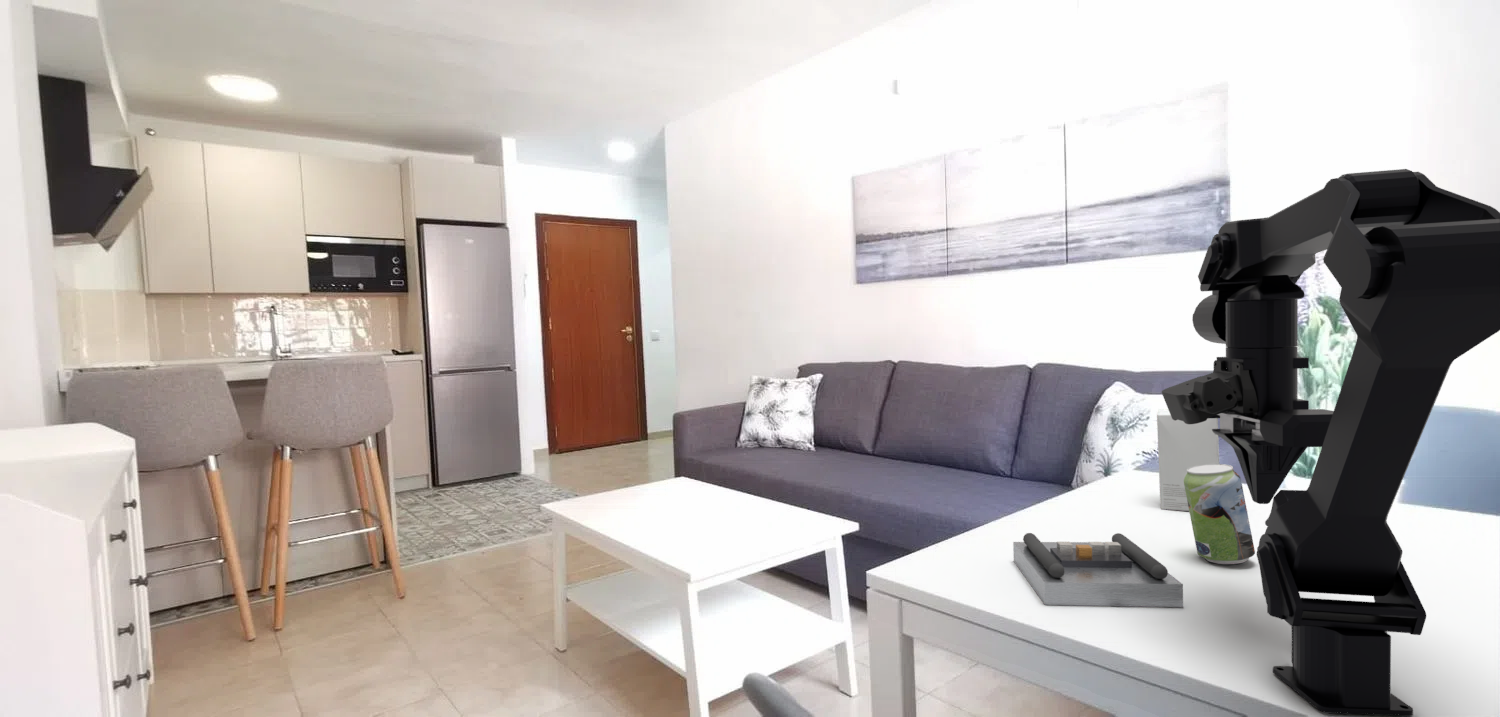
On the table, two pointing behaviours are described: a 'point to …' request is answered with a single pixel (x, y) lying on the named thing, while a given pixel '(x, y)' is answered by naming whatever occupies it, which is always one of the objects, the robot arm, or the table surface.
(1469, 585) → the table surface
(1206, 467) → the beverage can
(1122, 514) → the table surface
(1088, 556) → the breaker panel
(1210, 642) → the table surface
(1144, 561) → the dark grey rounded rod
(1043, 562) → the dark grey rounded bar
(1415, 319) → the robot arm
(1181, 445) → the skincare box
